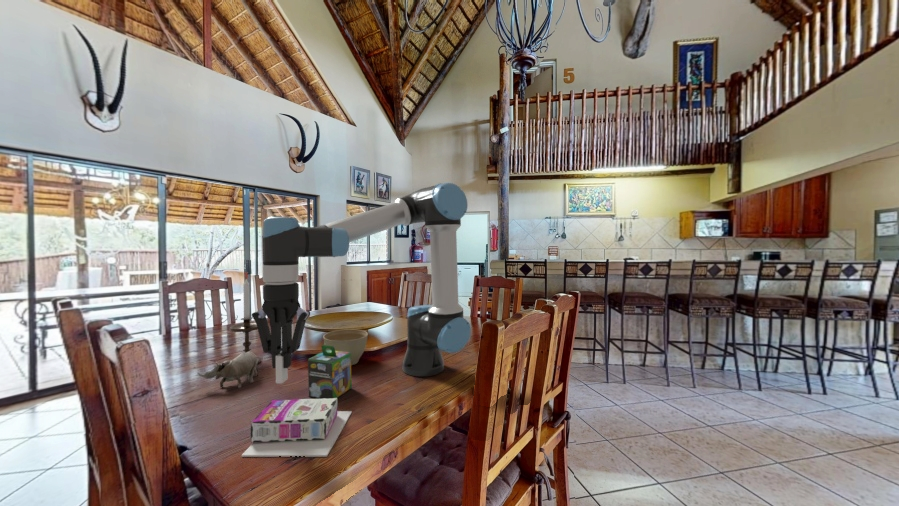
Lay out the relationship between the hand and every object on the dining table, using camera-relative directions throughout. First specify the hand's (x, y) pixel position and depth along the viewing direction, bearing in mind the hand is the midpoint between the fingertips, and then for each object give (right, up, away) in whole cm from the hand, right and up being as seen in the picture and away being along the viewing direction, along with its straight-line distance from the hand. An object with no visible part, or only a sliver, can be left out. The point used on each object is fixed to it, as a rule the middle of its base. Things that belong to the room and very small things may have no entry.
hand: (281, 380), depth 77 cm
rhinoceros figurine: (-29, -12, +26) cm, 41 cm away
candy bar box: (-5, -10, 0) cm, 11 cm away
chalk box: (+4, -12, +21) cm, 25 cm away
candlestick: (-36, -11, +45) cm, 59 cm away
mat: (+5, -12, 0) cm, 13 cm away
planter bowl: (+1, -12, +46) cm, 48 cm away
